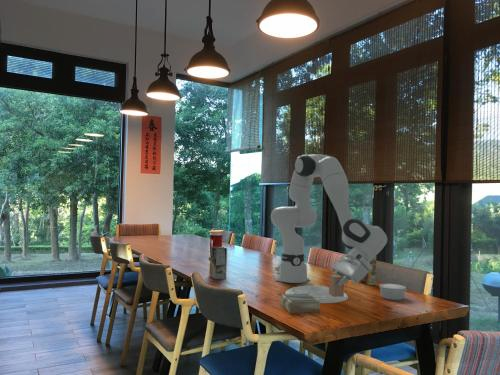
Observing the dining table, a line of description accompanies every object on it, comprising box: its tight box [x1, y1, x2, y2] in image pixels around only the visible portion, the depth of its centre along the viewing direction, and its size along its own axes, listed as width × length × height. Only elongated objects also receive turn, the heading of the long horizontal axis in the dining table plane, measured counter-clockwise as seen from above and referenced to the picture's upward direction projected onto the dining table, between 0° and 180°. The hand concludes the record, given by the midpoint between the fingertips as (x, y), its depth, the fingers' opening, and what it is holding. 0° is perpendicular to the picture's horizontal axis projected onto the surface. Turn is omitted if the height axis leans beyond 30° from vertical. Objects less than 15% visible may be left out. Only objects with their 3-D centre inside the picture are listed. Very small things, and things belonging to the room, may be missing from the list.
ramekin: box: [379, 283, 407, 301], centre depth 179 cm, size 11×11×5 cm
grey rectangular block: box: [328, 274, 345, 297], centre depth 163 cm, size 4×4×8 cm
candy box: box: [358, 255, 377, 286], centre depth 207 cm, size 9×4×15 cm, turn 29°
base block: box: [280, 293, 321, 314], centre depth 159 cm, size 12×12×4 cm
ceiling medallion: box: [284, 284, 349, 304], centre depth 180 cm, size 28×28×3 cm
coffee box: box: [209, 245, 228, 280], centre depth 213 cm, size 9×6×16 cm
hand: (335, 283), depth 162 cm, fingers closed on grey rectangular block, 4 cm apart
